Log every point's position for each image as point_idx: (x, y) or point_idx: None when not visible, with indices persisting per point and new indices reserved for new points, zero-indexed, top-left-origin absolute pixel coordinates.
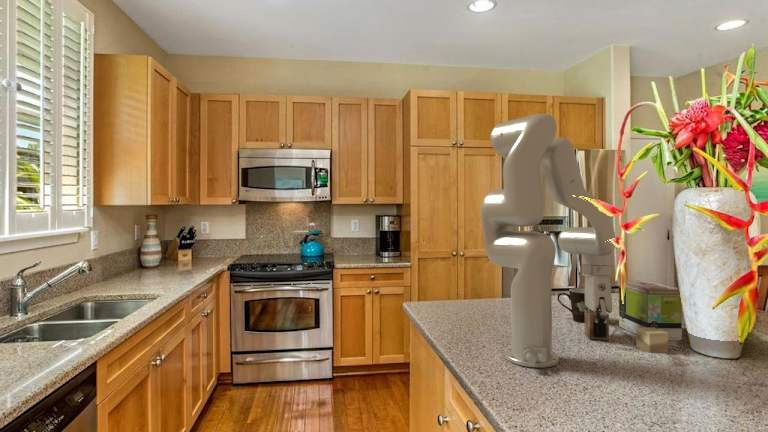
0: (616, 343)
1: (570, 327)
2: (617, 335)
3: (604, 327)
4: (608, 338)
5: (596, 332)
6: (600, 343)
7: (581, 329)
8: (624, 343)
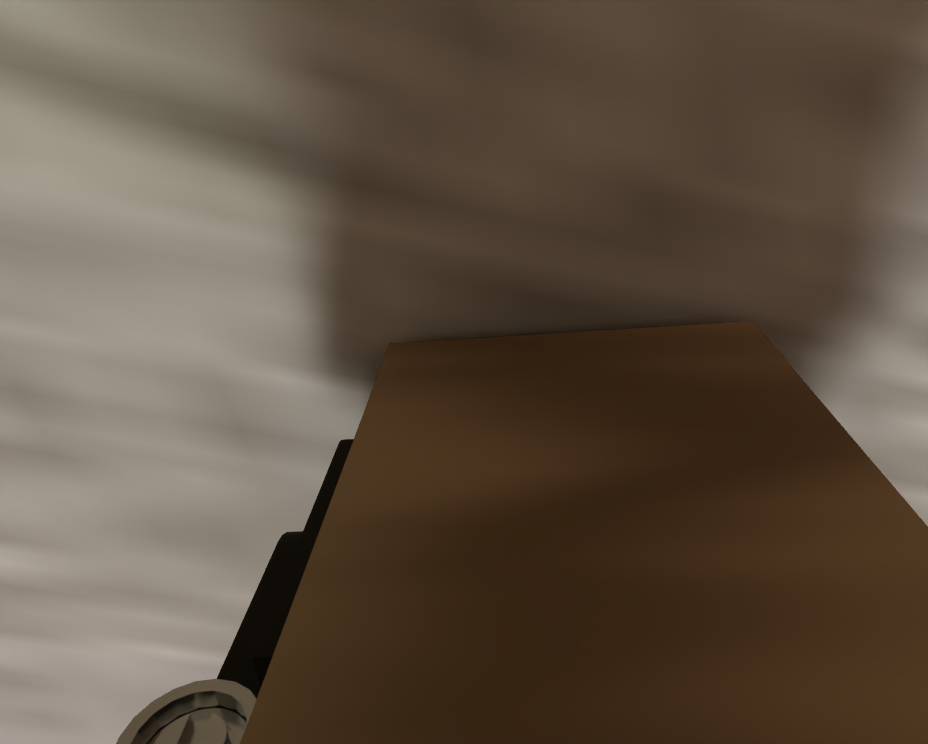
0: (888, 203)
1: (41, 694)
2: (250, 25)
3: None
4: (757, 339)
5: None
6: (887, 473)
7: (85, 583)
8: (889, 25)
